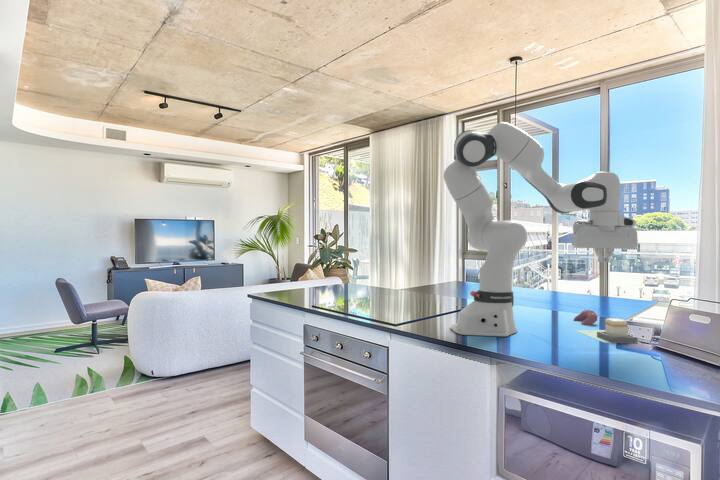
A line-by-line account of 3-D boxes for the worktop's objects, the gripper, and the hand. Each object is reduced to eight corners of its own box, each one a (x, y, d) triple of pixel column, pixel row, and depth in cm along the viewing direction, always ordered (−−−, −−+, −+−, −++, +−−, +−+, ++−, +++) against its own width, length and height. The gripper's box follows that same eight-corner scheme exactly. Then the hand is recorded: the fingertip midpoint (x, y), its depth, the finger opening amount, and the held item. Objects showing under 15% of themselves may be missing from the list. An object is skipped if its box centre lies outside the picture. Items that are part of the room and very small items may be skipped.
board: (604, 346, 124) (604, 337, 124) (574, 333, 141) (574, 325, 141) (640, 345, 124) (640, 337, 124) (606, 333, 141) (606, 325, 141)
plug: (613, 340, 126) (613, 321, 126) (605, 337, 131) (605, 318, 131) (627, 340, 126) (627, 321, 126) (618, 337, 131) (618, 318, 131)
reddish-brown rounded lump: (593, 332, 149) (602, 315, 148) (581, 326, 150) (590, 309, 149) (583, 326, 159) (591, 310, 158) (571, 320, 160) (580, 305, 159)
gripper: (578, 219, 133) (577, 262, 133) (641, 221, 133) (640, 263, 133) (568, 220, 139) (567, 261, 139) (628, 221, 139) (627, 262, 139)
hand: (603, 262), depth 136 cm, fingers closed
